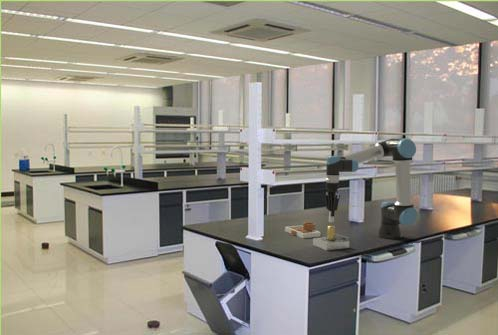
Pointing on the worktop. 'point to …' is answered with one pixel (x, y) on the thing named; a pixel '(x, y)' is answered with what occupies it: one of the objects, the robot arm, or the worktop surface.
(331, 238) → the gold brass cylinder
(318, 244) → the jig
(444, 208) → the worktop surface
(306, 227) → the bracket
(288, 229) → the cradle
